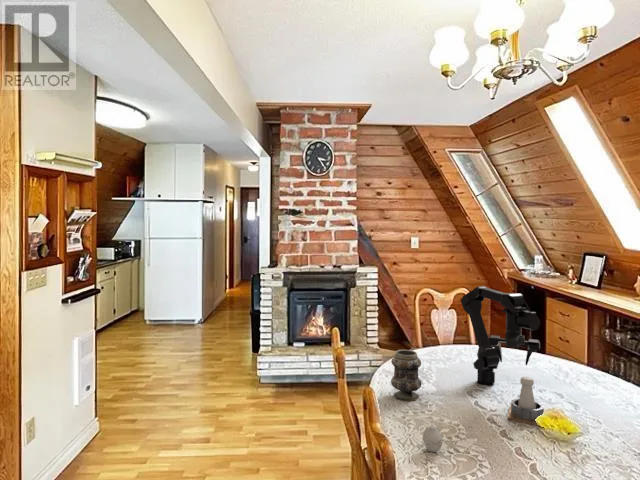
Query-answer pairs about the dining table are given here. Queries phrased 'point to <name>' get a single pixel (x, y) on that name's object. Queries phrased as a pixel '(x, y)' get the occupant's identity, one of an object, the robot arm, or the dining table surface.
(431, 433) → the grey cracked egg
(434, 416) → the dining table surface
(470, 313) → the robot arm
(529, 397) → the salt shaker
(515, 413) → the cup holder
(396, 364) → the apothecary jar
